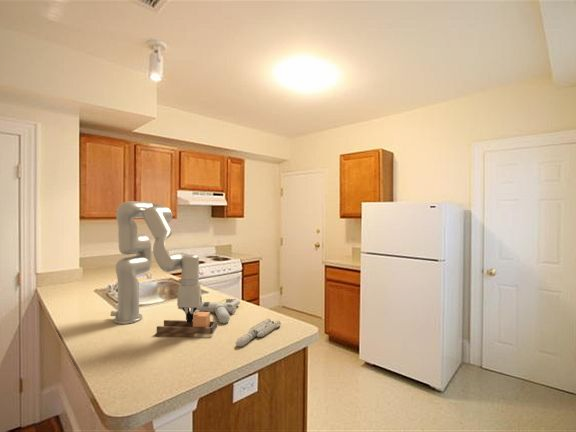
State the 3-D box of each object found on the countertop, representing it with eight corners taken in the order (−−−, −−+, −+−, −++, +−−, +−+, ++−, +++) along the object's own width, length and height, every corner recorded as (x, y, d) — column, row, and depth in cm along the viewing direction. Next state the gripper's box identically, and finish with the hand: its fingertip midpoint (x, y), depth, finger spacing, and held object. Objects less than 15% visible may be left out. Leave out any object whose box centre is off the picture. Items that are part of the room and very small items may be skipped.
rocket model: (281, 320, 150) (245, 342, 123) (281, 327, 150) (245, 351, 123) (265, 316, 154) (227, 337, 127) (265, 324, 154) (227, 346, 127)
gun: (244, 306, 180) (227, 325, 151) (198, 303, 184) (172, 322, 155) (244, 296, 180) (227, 314, 150) (198, 294, 184) (172, 311, 154)
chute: (154, 336, 136) (154, 328, 136) (166, 326, 148) (166, 318, 148) (211, 337, 135) (211, 329, 135) (217, 327, 147) (217, 319, 147)
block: (192, 331, 138) (193, 316, 138) (197, 326, 144) (197, 311, 144) (206, 331, 138) (206, 316, 138) (209, 326, 144) (209, 311, 144)
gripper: (170, 283, 137) (170, 324, 138) (203, 284, 137) (203, 325, 137) (177, 279, 145) (176, 318, 145) (208, 280, 145) (208, 319, 145)
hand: (189, 321), depth 141 cm, fingers closed
